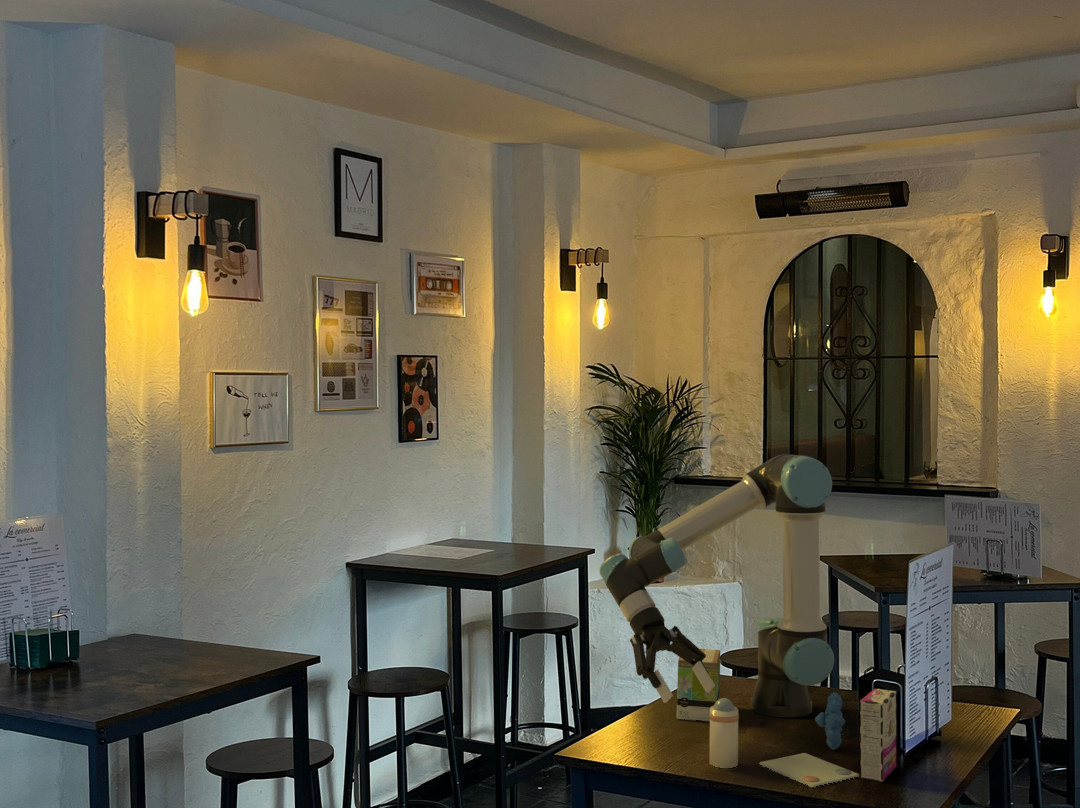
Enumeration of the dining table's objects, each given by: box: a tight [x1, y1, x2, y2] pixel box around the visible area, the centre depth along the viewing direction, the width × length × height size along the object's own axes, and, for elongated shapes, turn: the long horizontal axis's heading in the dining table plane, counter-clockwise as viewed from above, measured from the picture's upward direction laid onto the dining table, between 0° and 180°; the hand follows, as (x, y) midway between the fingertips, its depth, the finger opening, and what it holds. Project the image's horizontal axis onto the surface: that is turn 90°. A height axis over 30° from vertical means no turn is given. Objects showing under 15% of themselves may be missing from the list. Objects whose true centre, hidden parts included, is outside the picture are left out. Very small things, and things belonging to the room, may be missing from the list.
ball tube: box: [709, 697, 740, 768], centre depth 241 cm, size 6×6×14 cm
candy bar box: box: [859, 688, 897, 783], centre depth 236 cm, size 11×5×16 cm, turn 148°
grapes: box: [814, 691, 846, 751], centre depth 254 cm, size 12×7×12 cm, turn 163°
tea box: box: [676, 648, 721, 722], centre depth 280 cm, size 15×10×15 cm
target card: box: [759, 752, 860, 788], centre depth 237 cm, size 13×16×1 cm
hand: (690, 694), depth 247 cm, fingers open, 13 cm apart
